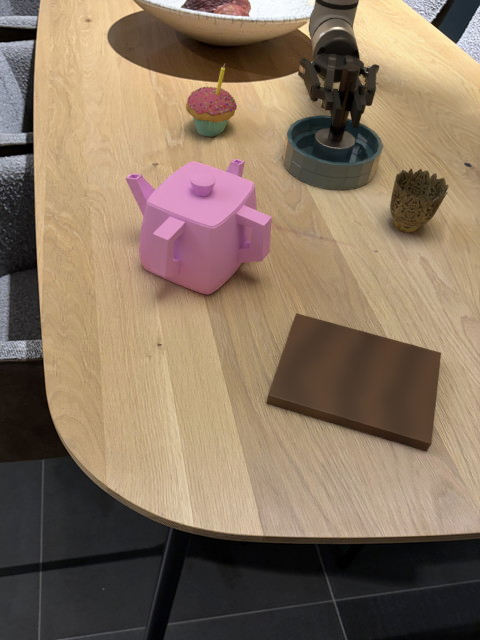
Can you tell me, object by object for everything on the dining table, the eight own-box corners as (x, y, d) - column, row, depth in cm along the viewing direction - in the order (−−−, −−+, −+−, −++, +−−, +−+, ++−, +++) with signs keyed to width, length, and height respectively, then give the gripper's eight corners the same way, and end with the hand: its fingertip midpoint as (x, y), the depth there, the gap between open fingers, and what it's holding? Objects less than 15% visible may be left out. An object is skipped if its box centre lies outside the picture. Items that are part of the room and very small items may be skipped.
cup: (384, 209, 94) (400, 162, 88) (432, 221, 92) (451, 175, 86) (375, 236, 89) (391, 188, 83) (425, 249, 88) (445, 202, 82)
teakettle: (153, 307, 77) (153, 226, 68) (125, 227, 87) (121, 148, 78) (277, 286, 81) (293, 207, 71) (235, 212, 91) (245, 135, 82)
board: (436, 360, 74) (441, 352, 73) (426, 451, 65) (431, 443, 64) (294, 321, 77) (296, 312, 76) (266, 403, 68) (268, 395, 67)
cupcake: (242, 129, 107) (250, 59, 98) (216, 148, 103) (222, 76, 93) (202, 113, 110) (206, 44, 101) (175, 131, 105) (177, 60, 96)
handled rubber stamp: (352, 155, 101) (376, 63, 90) (345, 174, 97) (370, 80, 86) (315, 147, 102) (334, 54, 91) (306, 165, 98) (326, 71, 87)
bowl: (380, 154, 104) (388, 127, 100) (366, 202, 95) (375, 173, 91) (293, 135, 107) (298, 107, 103) (272, 180, 97) (276, 151, 94)
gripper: (373, 78, 107) (392, 146, 92) (286, 70, 107) (290, 138, 92) (385, 32, 101) (407, 97, 86) (294, 24, 101) (299, 88, 86)
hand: (347, 118), depth 89 cm, fingers closed on handled rubber stamp, 2 cm apart
